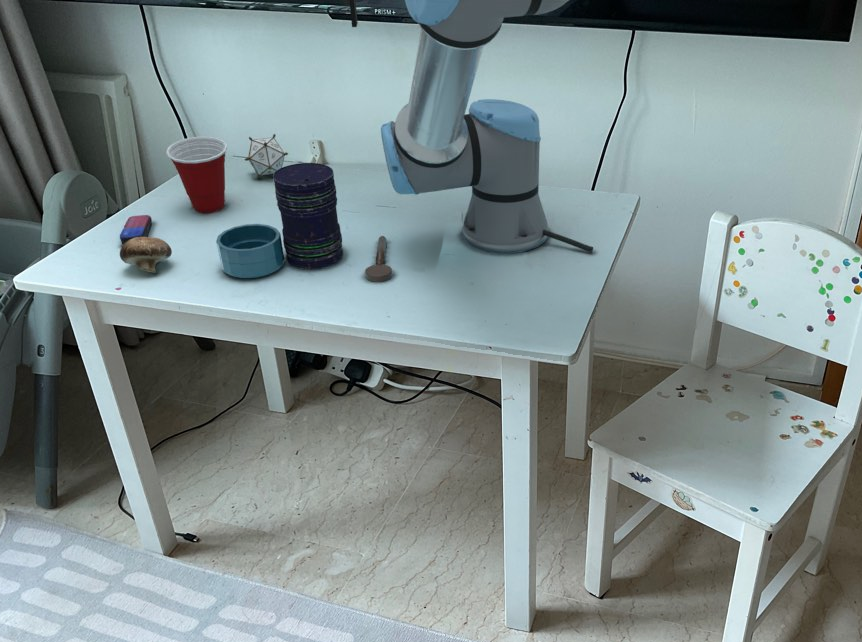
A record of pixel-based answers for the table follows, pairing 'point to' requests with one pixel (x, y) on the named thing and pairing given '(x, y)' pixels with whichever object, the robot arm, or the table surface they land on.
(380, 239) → the spoon
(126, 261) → the mushroom
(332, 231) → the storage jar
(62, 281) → the table surface
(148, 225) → the eraser
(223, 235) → the bowl
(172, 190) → the table surface
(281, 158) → the game die
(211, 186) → the plastic cup
